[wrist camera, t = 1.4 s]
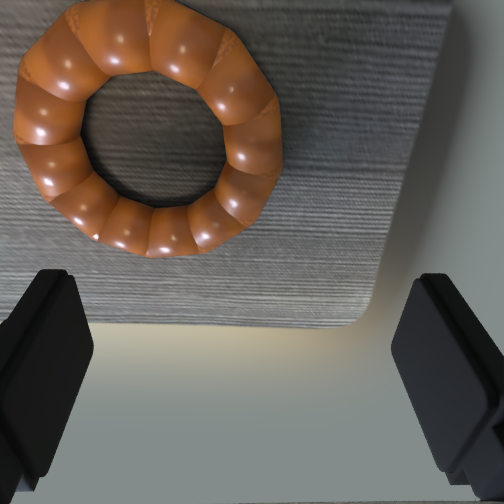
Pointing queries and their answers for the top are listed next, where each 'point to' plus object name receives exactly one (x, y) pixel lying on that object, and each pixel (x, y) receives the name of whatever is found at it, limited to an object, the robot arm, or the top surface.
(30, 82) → the glossy orange segmented ring
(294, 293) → the top surface
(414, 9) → the top surface
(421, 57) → the top surface
